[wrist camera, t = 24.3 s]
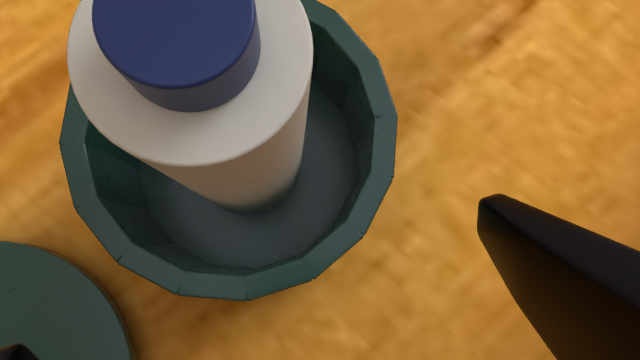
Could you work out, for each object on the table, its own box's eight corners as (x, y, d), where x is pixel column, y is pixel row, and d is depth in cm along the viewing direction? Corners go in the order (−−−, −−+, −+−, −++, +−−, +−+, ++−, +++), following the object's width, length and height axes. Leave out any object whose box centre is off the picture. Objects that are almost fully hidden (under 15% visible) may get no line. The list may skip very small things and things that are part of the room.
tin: (298, 330, 19) (301, 362, 14) (76, 211, 19) (-8, 197, 14) (408, 114, 21) (448, 68, 15) (203, 7, 21) (173, -76, 15)
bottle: (286, 225, 19) (275, 184, 7) (181, 198, 19) (-22, 107, 7) (312, 125, 20) (346, -77, 8) (211, 99, 20) (79, -149, 7)
